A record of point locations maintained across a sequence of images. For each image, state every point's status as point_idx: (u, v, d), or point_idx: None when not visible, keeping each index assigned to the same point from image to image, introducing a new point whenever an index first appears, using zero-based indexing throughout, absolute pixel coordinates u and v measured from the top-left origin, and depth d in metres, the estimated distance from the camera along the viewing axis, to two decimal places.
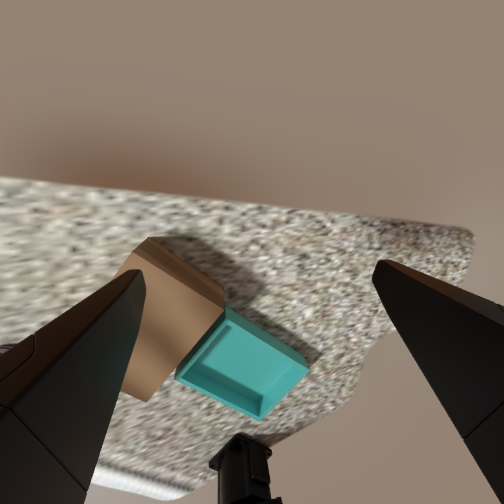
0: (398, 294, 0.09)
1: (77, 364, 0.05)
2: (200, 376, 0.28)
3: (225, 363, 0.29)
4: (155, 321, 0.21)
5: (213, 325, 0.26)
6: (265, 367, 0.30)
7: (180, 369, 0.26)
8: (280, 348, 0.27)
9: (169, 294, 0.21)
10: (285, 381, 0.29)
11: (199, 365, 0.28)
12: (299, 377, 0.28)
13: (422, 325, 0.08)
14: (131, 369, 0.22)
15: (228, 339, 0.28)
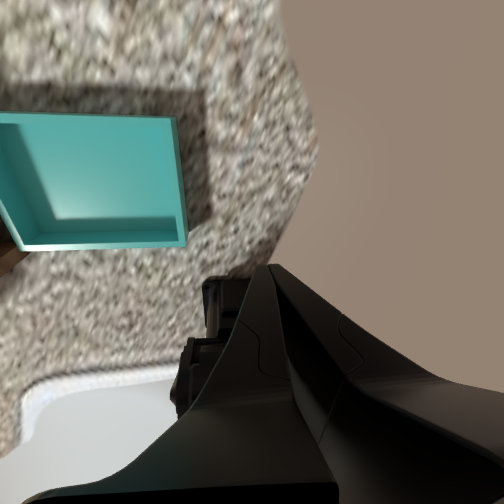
0: None
1: None
2: (70, 235, 0.20)
3: (82, 199, 0.19)
4: None
5: None
6: (138, 172, 0.18)
7: None
8: (97, 115, 0.15)
9: None
10: None
11: (59, 223, 0.19)
12: (167, 143, 0.16)
13: (286, 335, 0.07)
14: None
15: (42, 161, 0.17)
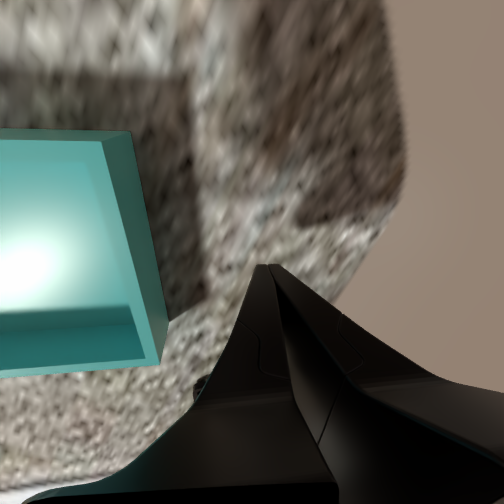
0: None
1: None
2: None
3: None
4: None
5: None
6: (62, 238, 0.09)
7: None
8: None
9: None
10: None
11: None
12: (102, 197, 0.07)
13: (286, 335, 0.07)
14: None
15: None
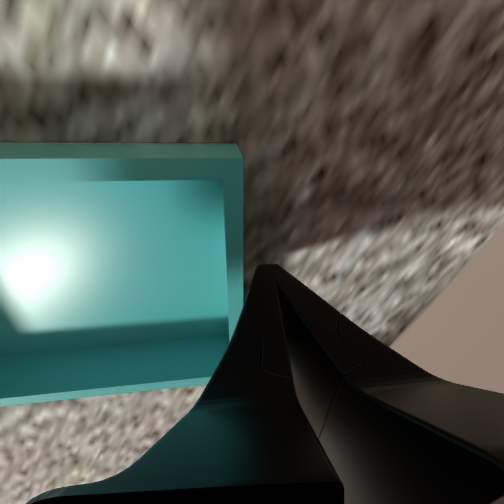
0: None
1: None
2: (26, 362, 0.10)
3: (46, 304, 0.10)
4: None
5: None
6: (153, 253, 0.09)
7: None
8: (55, 152, 0.06)
9: None
10: None
11: (5, 341, 0.10)
12: (230, 215, 0.06)
13: None
14: None
15: None
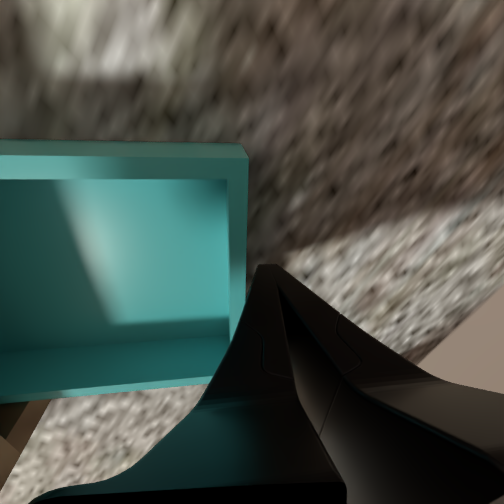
0: None
1: None
2: (26, 360, 0.10)
3: (46, 302, 0.10)
4: None
5: None
6: (155, 252, 0.09)
7: None
8: (61, 150, 0.06)
9: None
10: (228, 256, 0.08)
11: (4, 339, 0.10)
12: (234, 214, 0.06)
13: None
14: None
15: None
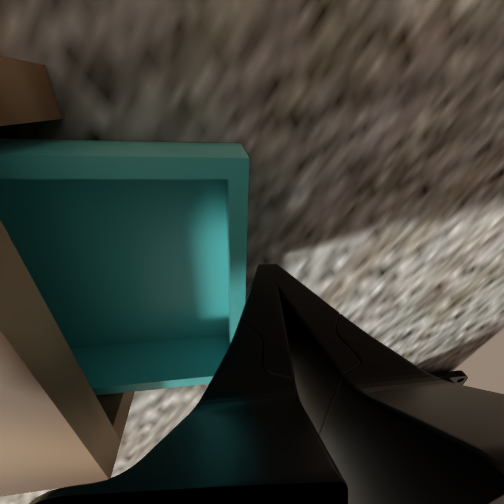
0: None
1: None
2: None
3: (45, 302, 0.10)
4: None
5: None
6: (155, 252, 0.09)
7: None
8: (60, 150, 0.06)
9: None
10: (228, 256, 0.08)
11: None
12: (234, 214, 0.06)
13: None
14: None
15: None
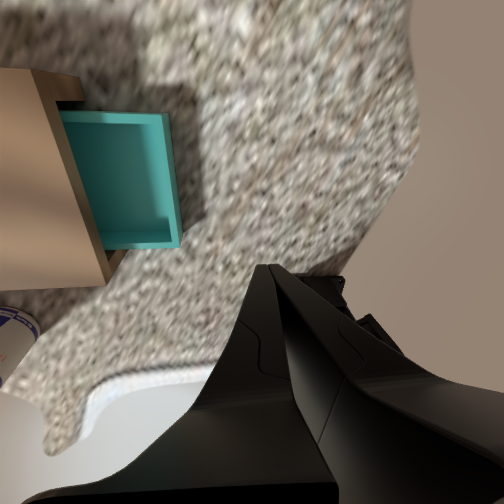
0: None
1: None
2: None
3: None
4: None
5: None
6: (129, 171, 0.18)
7: None
8: None
9: None
10: None
11: None
12: (159, 141, 0.15)
13: (286, 335, 0.07)
14: (42, 255, 0.16)
15: None
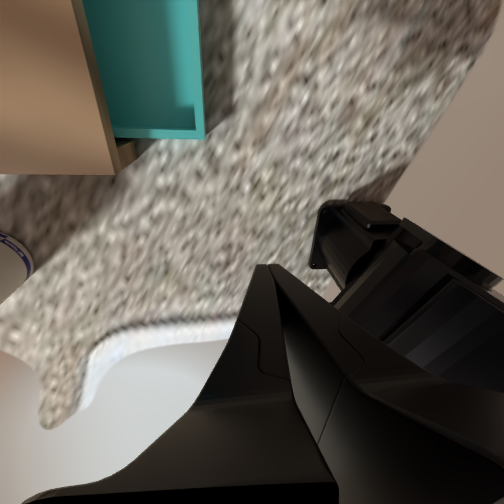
0: None
1: None
2: None
3: None
4: None
5: None
6: (144, 31, 0.14)
7: None
8: None
9: None
10: None
11: None
12: None
13: (286, 335, 0.07)
14: (32, 119, 0.12)
15: None
